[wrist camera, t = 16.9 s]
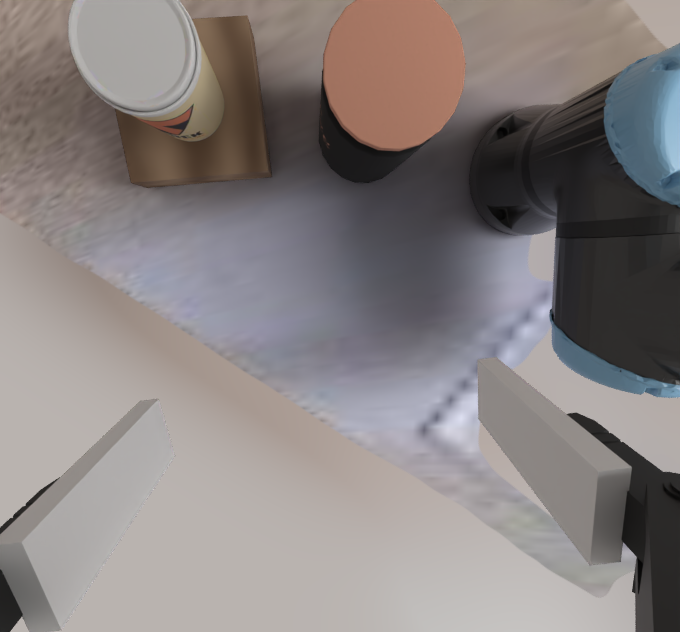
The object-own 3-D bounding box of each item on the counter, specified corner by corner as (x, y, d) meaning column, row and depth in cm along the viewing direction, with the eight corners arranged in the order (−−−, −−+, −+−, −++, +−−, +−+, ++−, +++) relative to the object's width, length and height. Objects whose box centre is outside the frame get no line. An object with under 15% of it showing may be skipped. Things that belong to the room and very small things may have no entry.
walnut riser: (253, 37, 40) (247, 15, 36) (271, 176, 43) (267, 170, 39) (118, 46, 39) (96, 24, 35) (147, 187, 42) (131, 182, 39)
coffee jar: (344, 71, 41) (368, -51, 24) (420, 121, 43) (494, 41, 26) (303, 156, 43) (296, 100, 25) (377, 200, 45) (419, 176, 27)
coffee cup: (135, 135, 38) (56, 90, 26) (149, 39, 36) (69, -56, 24) (223, 161, 39) (185, 128, 27) (240, 69, 37) (207, -8, 25)
